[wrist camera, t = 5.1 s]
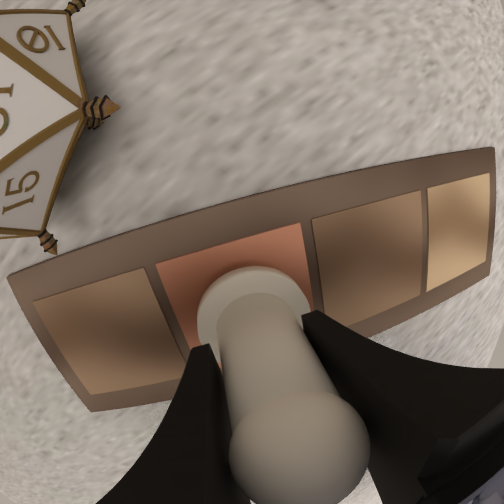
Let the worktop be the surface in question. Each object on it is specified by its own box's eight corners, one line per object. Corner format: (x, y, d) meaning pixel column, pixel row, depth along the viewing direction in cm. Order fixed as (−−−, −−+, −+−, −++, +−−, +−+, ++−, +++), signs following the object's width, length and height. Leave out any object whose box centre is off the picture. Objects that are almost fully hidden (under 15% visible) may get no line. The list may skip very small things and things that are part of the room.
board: (486, 273, 17) (490, 275, 16) (91, 408, 14) (90, 413, 14) (491, 146, 13) (495, 147, 13) (9, 275, 11) (5, 278, 10)
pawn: (310, 340, 13) (397, 495, 5) (215, 368, 13) (245, 545, 5) (295, 252, 11) (434, 420, 4) (181, 284, 11) (179, 503, 3)
